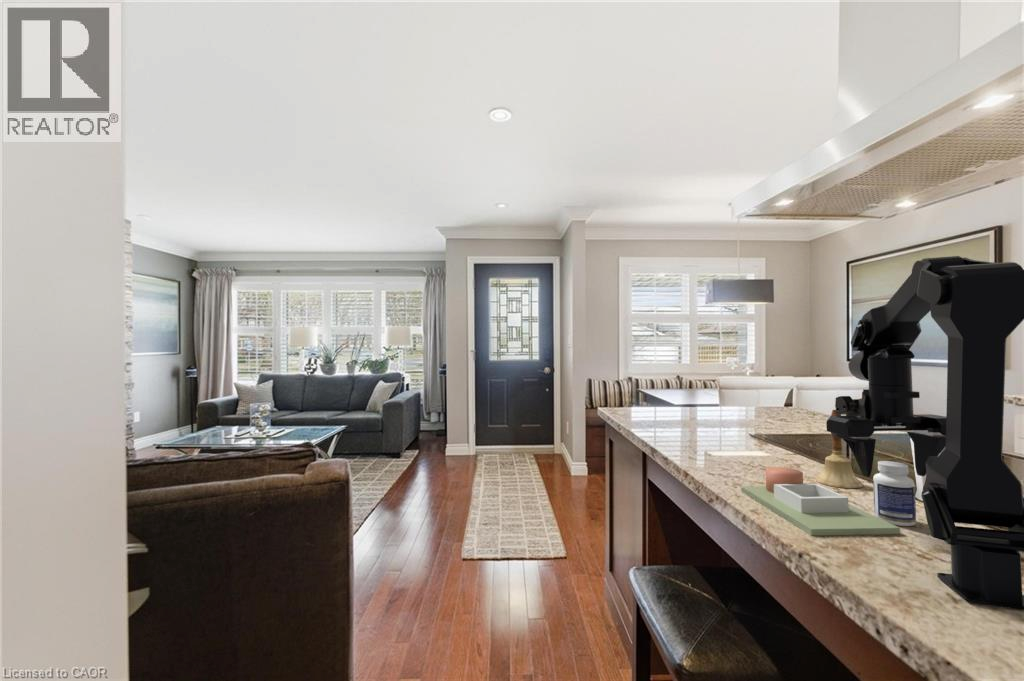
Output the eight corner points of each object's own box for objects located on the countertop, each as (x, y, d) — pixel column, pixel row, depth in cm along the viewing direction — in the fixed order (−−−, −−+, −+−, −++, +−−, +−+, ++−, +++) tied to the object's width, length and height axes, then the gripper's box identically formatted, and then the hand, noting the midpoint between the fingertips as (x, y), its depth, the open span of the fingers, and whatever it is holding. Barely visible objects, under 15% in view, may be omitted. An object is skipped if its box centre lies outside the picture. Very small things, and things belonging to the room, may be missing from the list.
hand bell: (807, 477, 101) (805, 407, 101) (844, 477, 100) (842, 407, 101) (832, 489, 93) (829, 412, 93) (873, 488, 92) (870, 412, 93)
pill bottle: (924, 528, 72) (922, 468, 72) (887, 526, 73) (884, 467, 73) (902, 515, 77) (900, 460, 78) (867, 514, 79) (865, 459, 79)
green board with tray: (900, 534, 70) (898, 502, 70) (811, 535, 70) (810, 503, 70) (808, 490, 92) (807, 466, 92) (741, 491, 92) (740, 467, 92)
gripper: (903, 380, 84) (907, 463, 83) (804, 382, 84) (807, 464, 84) (962, 385, 73) (967, 480, 72) (848, 387, 73) (852, 482, 72)
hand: (893, 476), depth 75 cm, fingers open, 9 cm apart
